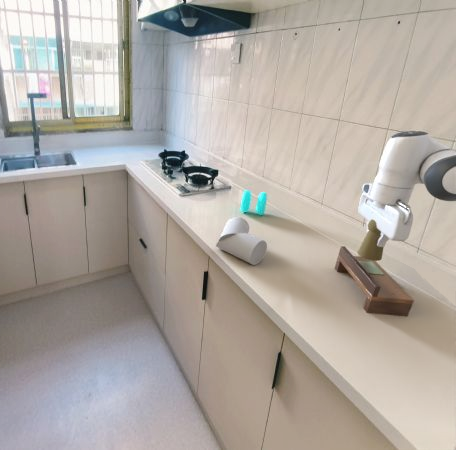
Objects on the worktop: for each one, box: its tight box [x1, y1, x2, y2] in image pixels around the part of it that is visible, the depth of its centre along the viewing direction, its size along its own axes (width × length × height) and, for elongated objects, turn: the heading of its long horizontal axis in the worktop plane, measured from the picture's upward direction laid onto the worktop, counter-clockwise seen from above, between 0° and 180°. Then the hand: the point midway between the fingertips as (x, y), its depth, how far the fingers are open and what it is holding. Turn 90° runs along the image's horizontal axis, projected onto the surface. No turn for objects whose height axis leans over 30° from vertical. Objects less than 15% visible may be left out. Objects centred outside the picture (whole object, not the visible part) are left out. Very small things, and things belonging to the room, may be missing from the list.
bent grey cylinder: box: [215, 216, 268, 266], centre depth 115 cm, size 18×11×20 cm
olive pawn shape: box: [357, 220, 385, 262], centre depth 94 cm, size 6×6×11 cm
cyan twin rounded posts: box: [240, 189, 268, 216], centre depth 146 cm, size 10×10×10 cm
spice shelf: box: [334, 245, 415, 317], centre depth 95 cm, size 10×22×8 cm, turn 174°
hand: (374, 241), depth 95 cm, fingers closed on olive pawn shape, 4 cm apart
